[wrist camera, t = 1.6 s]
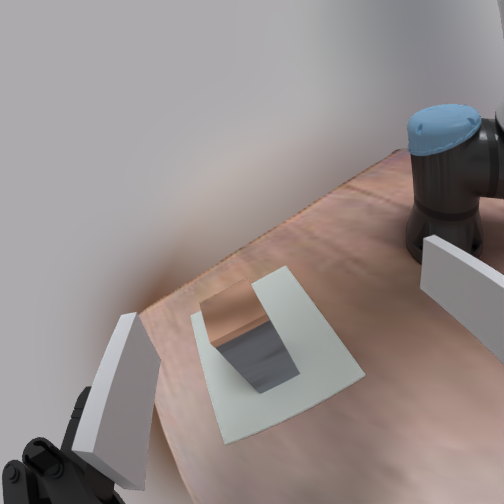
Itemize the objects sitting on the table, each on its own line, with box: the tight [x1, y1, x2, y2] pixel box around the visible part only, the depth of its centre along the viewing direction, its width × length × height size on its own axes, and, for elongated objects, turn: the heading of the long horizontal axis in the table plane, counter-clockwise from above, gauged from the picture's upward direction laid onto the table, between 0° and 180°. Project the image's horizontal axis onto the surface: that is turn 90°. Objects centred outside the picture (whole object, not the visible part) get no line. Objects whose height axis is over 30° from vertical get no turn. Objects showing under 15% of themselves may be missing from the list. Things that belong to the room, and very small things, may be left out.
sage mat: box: [191, 265, 365, 445], centre depth 40 cm, size 26×20×1 cm
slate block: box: [199, 278, 300, 394], centre depth 32 cm, size 6×6×14 cm
